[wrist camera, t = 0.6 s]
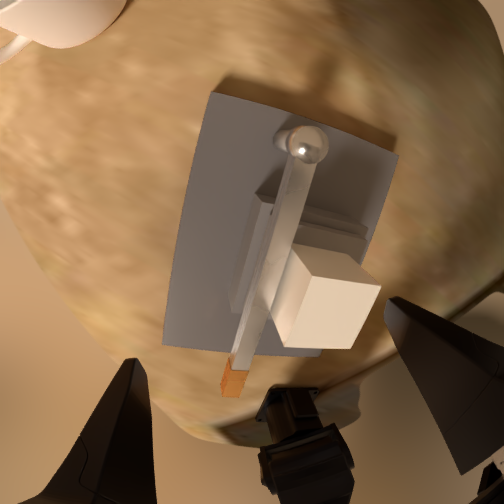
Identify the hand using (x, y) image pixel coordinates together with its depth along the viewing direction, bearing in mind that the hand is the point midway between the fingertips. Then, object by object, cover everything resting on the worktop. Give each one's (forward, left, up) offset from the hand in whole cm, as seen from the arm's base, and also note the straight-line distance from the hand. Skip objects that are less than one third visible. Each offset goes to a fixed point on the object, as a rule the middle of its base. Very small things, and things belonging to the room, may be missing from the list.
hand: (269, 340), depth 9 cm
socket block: (-1, -5, -14) cm, 15 cm away
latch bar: (-2, -2, -8) cm, 9 cm away
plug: (-1, -5, -12) cm, 13 cm away
